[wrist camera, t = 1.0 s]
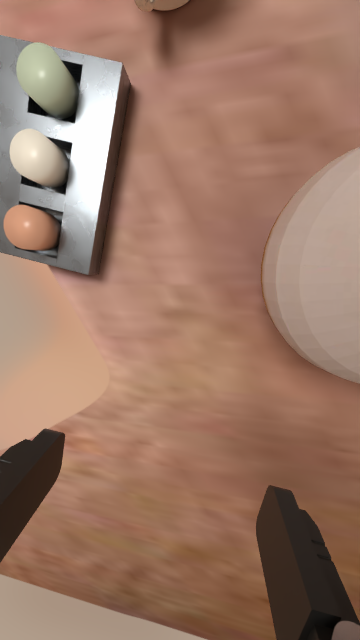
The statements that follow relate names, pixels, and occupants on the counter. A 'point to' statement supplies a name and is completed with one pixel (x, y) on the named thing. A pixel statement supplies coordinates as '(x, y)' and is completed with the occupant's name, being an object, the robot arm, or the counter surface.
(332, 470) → the counter surface
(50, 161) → the ivory button
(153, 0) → the teacup with lid
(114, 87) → the panel
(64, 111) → the sage button
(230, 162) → the counter surface
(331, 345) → the jug
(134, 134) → the counter surface
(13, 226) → the orange rounded piece
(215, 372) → the counter surface
